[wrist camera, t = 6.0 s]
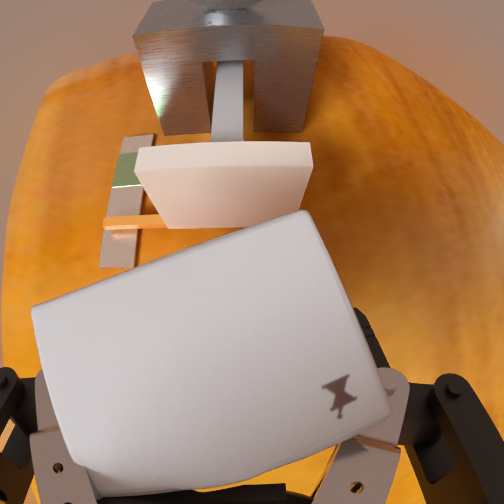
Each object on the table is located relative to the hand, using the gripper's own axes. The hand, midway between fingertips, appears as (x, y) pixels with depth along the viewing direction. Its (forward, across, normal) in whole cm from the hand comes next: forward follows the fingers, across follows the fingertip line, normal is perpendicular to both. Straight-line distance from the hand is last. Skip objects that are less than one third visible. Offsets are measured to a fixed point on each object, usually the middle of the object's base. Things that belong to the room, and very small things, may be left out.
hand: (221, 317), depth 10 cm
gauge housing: (+12, +2, -3) cm, 13 cm away
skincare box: (+3, 0, +6) cm, 6 cm away
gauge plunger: (+12, +2, -4) cm, 12 cm away
